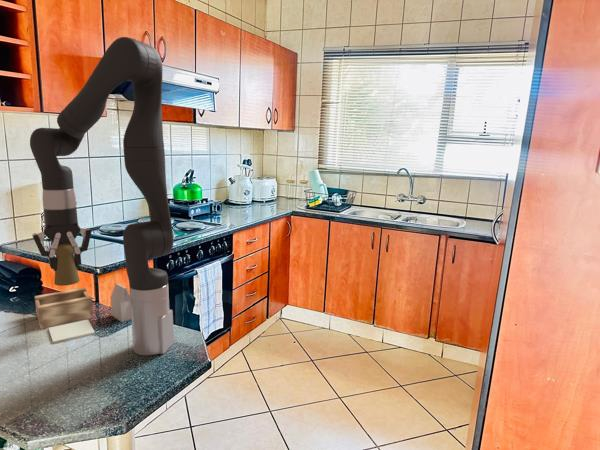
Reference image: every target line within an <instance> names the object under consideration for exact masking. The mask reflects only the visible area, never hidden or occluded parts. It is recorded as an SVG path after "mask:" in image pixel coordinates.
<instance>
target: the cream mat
mask: <svg viewBox="0 0 600 450" xmlns="http://www.w3.org/2000/svg"><path fill="white" fill-rule="evenodd" d="M90 322H91V321H89V319H85V320H80V321H75V322H71V323H66V324H61V325H57V326H52V327H48V332H49V335H50V338H51V342H52V344H53V345H54V344H58V343H59V344H60V343H63V342H67V341H70V340H77V339H80V338H84V337H89V336H92V335H95V334H96V332H95V330H94V328H93V326H92V324H91V323H90Z"/></svg>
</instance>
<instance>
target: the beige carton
mask: <svg viewBox="0 0 600 450" xmlns="http://www.w3.org/2000/svg"><path fill="white" fill-rule="evenodd" d="M110 308H111V309H110V310H111V312H110V313H111V316H112V317H113V316H114V317H113V318H115V319H116V318H117V319H116V320H118V321H119V322H120V323H124V322H127V321H130V320H131V321H132V319H131V304H130V292H129V291H128V289H127V288H126V286H123V285H121V284H118V283H114V287H113V290H112V293H111V295H110Z"/></svg>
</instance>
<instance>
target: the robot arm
mask: <svg viewBox="0 0 600 450" xmlns="http://www.w3.org/2000/svg"><path fill="white" fill-rule="evenodd" d="M126 81H127V82H131V83H132V87H133V99H134V100H133V111H132V113H131V116H130V119H129V121H128V123H127V125H126V128H125V131H124V135H123V141H122V143H123V145H122V147H123V157H124V166H125V170H126V173H127V175H128V176H129V177H130V180H132V182H133V183H134V184H135V186H136V187H137V189H138V190H139V192H140V193H141V194H142V196H143V197H144V199H145V201H146V203H147V207H148V211H149V220H148V221H143V222H136V223H135V222H134V223H131V224H128V225H126V226H125V228H124V229H123V230H124V231H123V235H122V240H123V241H122V242H123V253H124V259H125V269H126V275H127V278H128V284H129V295H130V304H131V330H132V346H133V347H132V349H133V352H134V353H135V354H137V355H140V356H154V355H159V354H160V355H164V354H165V353H166V352H167V351H168V350H169V349H170V348H171V347H172V345H174V343H175V336H174V335H175V334H174V332H175V331H174V314H173V313H174V311H173V309H170V298H169V297H170V296H169V275H168V273H167V271H166V270H163V269H160V268H156V267H155V268H154V267H150V265H149V260H150V259H155V258H159V257H163V256H166V255H169V254H170V253H172V250H173V247H174V232H173V230H174V229H173V224H172V218H171V213H170V206H169V204H170V203H169V197H168V187H167V178H166V174H167V173H166V155H165V154H166V153H165V143H164V132H163V131H164V129H163V128H164V127H163V126H164V125H163V109H162V105H163V104H162V95H163V62H162V57H161V55H160V54H159V52H158V50H157V49H156V48H154V47H153V46H152V45H150V44H147V43H146V42H145V43H144V42H143V41H140V40H137V39H135V38H132V37H128V36H120V37H118V38H117V39H114V41H113V42H112V43H111V44H109V46H108V48H107V49H106V50H105V52H104V53H103V55H102V57H101V58H100V60H99V62H98V63H97V65H96V66H95V68H94V69H93V71H92V72H91V74H90V76H89V78H88V79H87V81H86V82H85V83H84V85H83V86H82V88H81V89H80V91H79V92H78V93H77V95H75V96H74V98H73V99H72V100H70V102H69V103H68V104H67V105H66V106H65V107H64V108H63V109H62V110H61V111H60V113H59V114H58V115H57V118H56V122H57V126H58V127H59V128H52V127H39V128H35V129H34V130H33V131H32V132H31V134H30V139H29V147H30V151H31V153H32V155H33V158H34V160H35V162H36V165H37V169H39V173H40V175H41V187H42V207H43V217H44V226H45V227H44V230H43V231H40V232H38V233H33V234H32V238H33V241H34V242H35V246H36V247H37V249H38V251H39V254H40V255H41V257H47V258H48V260H49V268H50V269H51V270H53V272H55V271H56V270H57V265H56V255H55V249H57V246H58V245H60V244H64V243H65V244H70V243H71V244H72V246H73V247H74V248H75V252H74V254H73V255H74V259H75V263H76V268H77V269H78V268H80V266H81V265H82V255H81V254H82V253H83V252H86V251H87V250H89V249H88V248H89V245H90V240H91V235H92V230H91V229H89V228H81V227H80V225H79V221H78V210H77V208H78V207H77V205H78V204H77V200H76V199H77V197H76V194H75V188H74V178H73V171H72V168H71V167H68V166H67V165H62V164H61V163H60V162H59V161H60V160H59V159H58V157H66V156H67V157H68V156H71V155H72V154H73V153H75V152H76V151H77V149H79V146H80V145H81V143H82V142H83V139H84V137H85V134H86V133H88V131H90V130H91V129H92V128H93V127H94V126H95V124H96V123H97V122H98V121H99V120H100V119H101V118H102V116H103V115H104V112H105V109H106V105H107V101H108V99H109V96H110V95H111V93H112V91H114V90H115V89H116V88H117V87H118V86H120V85H121V84H122V83H124V82H126ZM80 233H81V236H82V241H81V246H79V245H78V243H77V242H76V239H77V237H78V235H79V234H80ZM44 237H46V238H47V239H48V240H50V244H49V249H48V250H45V248H44V246H43V243H42V242H43V241H44ZM55 244H56V245H55Z"/></svg>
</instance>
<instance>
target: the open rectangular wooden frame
mask: <svg viewBox="0 0 600 450" xmlns="http://www.w3.org/2000/svg"><path fill="white" fill-rule="evenodd" d="M34 304H35V311H36V318H37V321H38V324H39V328H40V330H43V329H47V328H50V327H55V326H60V325H64V324H69V323H74V322H78V321H83V320H89V319H93V318H94V308H93V298H92V296H91V295H89V294H88V293H87V289H86V287H79V288H74V289H69V290H62V291H57V292H51V293H45V294H39V295H34Z"/></svg>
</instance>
